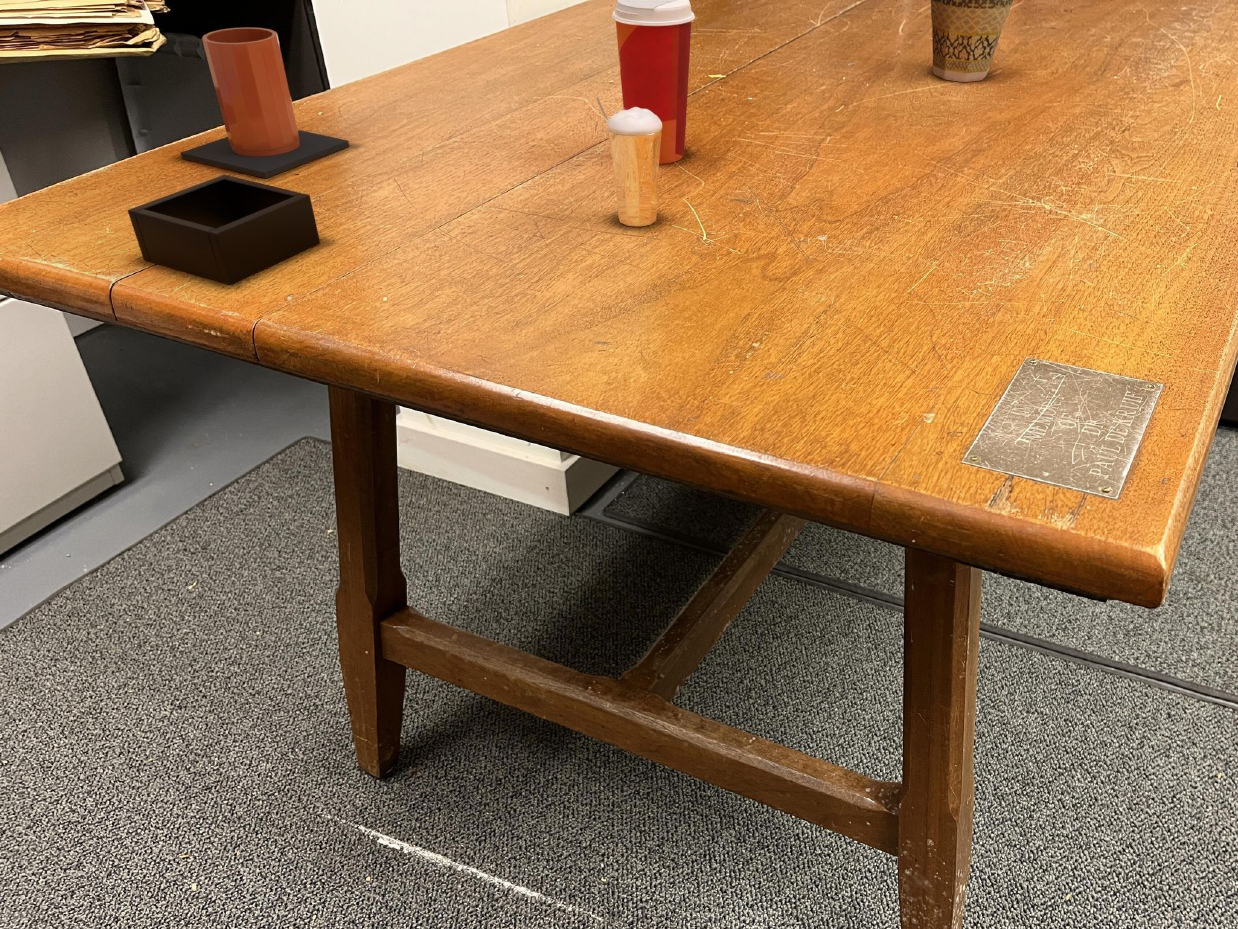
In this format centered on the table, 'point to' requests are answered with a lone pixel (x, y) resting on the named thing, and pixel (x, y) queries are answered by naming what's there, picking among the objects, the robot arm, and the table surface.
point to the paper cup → (656, 64)
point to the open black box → (225, 228)
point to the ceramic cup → (966, 36)
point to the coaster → (265, 166)
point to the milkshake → (635, 163)
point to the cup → (252, 91)
